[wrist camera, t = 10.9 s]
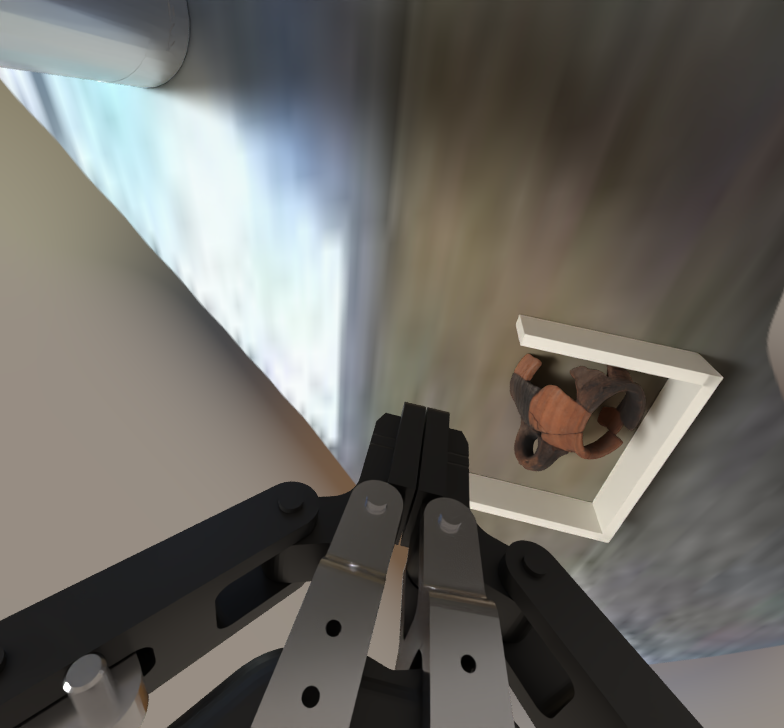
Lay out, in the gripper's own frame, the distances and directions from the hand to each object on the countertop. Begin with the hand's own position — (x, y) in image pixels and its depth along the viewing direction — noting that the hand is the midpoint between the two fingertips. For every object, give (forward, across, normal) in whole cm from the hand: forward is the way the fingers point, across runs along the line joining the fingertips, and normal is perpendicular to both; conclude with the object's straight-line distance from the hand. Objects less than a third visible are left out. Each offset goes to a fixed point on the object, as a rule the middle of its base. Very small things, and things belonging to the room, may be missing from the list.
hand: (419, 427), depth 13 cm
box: (+23, -15, +14) cm, 30 cm away
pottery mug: (+23, -14, +11) cm, 29 cm away
